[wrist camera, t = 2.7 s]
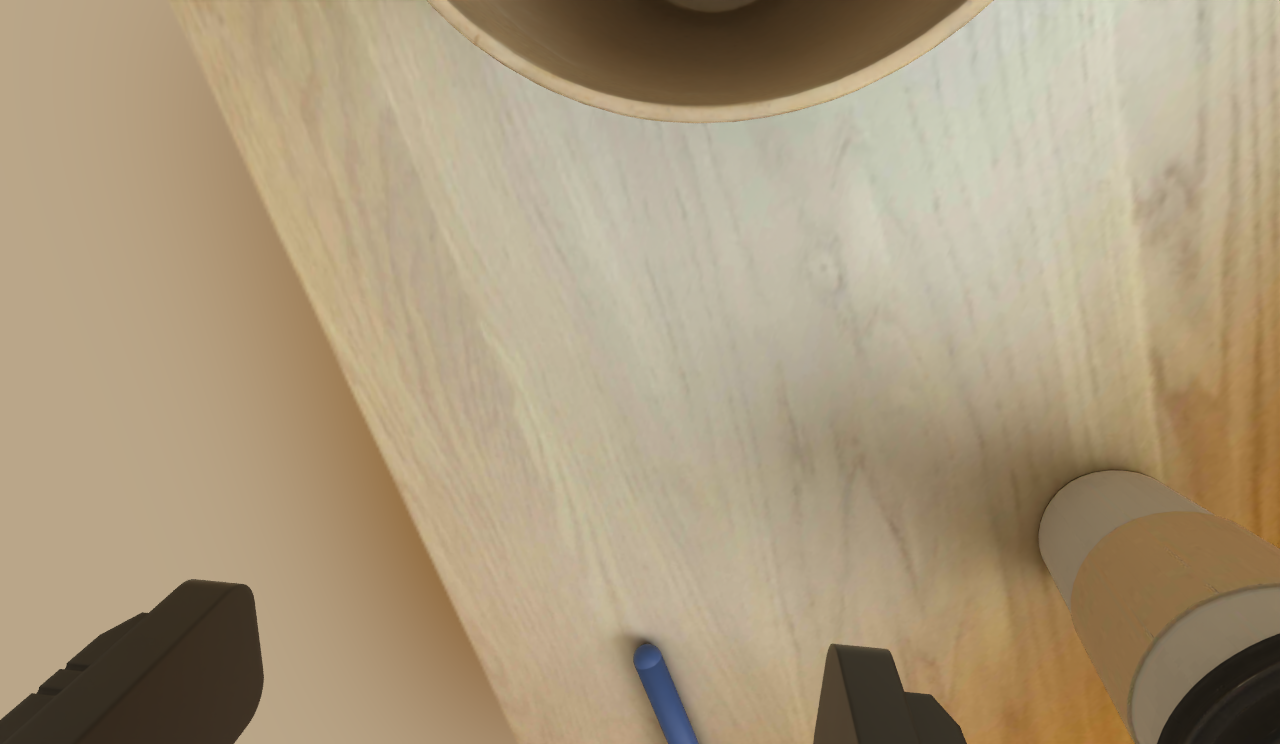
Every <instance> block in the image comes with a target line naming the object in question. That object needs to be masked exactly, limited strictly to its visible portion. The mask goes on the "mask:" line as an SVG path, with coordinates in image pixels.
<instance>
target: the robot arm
mask: <svg viewBox="0 0 1280 744" xmlns="http://www.w3.org/2000/svg"><path fill="white" fill-rule="evenodd" d="M263 680H264V675H263V665H262V657H261V649H260V642H259V633H258V625H257V617H256V610H255V601H254V596H253V593H252V591H251V589H250V588H249V587H248V586H247V585H244V584H237V583H226V582H216V581H206V580H196V579H191V580H188V581H186V582H184V583H183V584H181V585H180V586H179V587H177V588H176V589H175V590H174V591H173V592H172V593H171V594H170V595H168V596H167V597H166V598H165V599H164V600H163V601H162V602H161V603H159V604H158V605H157V606H156V607H155V608H154V609H153V610H152V611H150V612H149V613H141V614H139V615H137V616H135V617H133V618H131V619H129V620H127V621H125V622H124V623H122V624H120V625H118V626H116V627H114V628H112V629H110V630H108V631H107V632H105V633H103V634H101V635H99V636H98V637H97V638H96V639H95V640H93V642H91V643H90V644H89V645H88V646H87V647H85V648H84V649H83V650H82V651H81V652H80V653H78V654H77V655H76V656H75V657H74V658H72V659H71V660H70V661H69V662H68V663H67V666H66V668H65V669H60V670H58V671H57V672H56V673H55V674H54V675H53V676H51V677H50V678H49V679H48V680H47V681H46V682H45V683H43V684H42V685H41V686H40V687H39V690H38V692H37V694H33V693H32V694H31V695H29V696H28V697H27V698H26V699H25V700H23V701H22V702H21V703H20V704H19V705H18V706H16V707H15V708H14V709H13V710H12V711H10V712H9V713H8V714H7V715H6V716H5V717H3V718H2V719H1V720H0V744H234V743H235V741H236V740H237V739H238V737H239V736H240V735H241V733H242V732H243V730H244V729H245V728H246V727H247V725H248V724H249V723H250V721H251V719H252V718H253V716H254V714H255V712H256V709H257V707H258V704H259V701H260V698H261V694H262V689H263ZM813 744H967V743H966V741H965V738H964V736H963V733H962V731H961V728H960V726H959V725H958V724H957V723H956V722H955V721H954V720H953V719H952V717H951V716H950V715H949V714H948V713H947V712H946V711H945V710H944V709H943V707H942V706H941V705H940V704H939V703H938V702H937V701H936V700H935V699H934V697H933V696H932V695H930V694H920V693H910V692H904V690H903V687H902V684H901V681H900V678H899V675H898V672H897V669H896V666H895V663H894V660H893V657H892V655H891V653H890V651H889V650H888V649H880V648H870V647H860V646H849V645H839V644H831V645H830V647H829V649H828V653H827V657H826V663H825V670H824V676H823V683H822V689H821V695H820V702H819V708H818V714H817V721H816V727H815V734H814V743H813Z"/></svg>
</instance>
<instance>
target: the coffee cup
mask: <svg viewBox="0 0 1280 744" xmlns="http://www.w3.org/2000/svg"><path fill="white" fill-rule="evenodd" d="M1038 535H1039V548H1040V552H1041V555H1042V558H1043V560H1044V562H1045V564H1046V566H1047V568H1048V570H1049V572H1050V574H1051V576H1052V578H1053V580H1054V582H1055V584H1056V585H1057V587H1058V589H1059V591H1060V593H1061V595H1062V597H1063V599H1064V601H1065V603H1066V605H1067V607H1068V608H1069V610H1070V612H1071V616H1072V620H1073V624H1074V627H1075V630H1076V632H1077V634H1078V636H1079V638H1080V640H1081V642H1082V644H1083V646H1084V648H1085V650H1086V652H1087V653H1088V655H1089V657H1090V659H1091V661H1092V663H1093V665H1094V667H1095V669H1096V671H1097V673H1098V675H1099V677H1100V678H1101V680H1102V682H1103V684H1104V686H1105V688H1106V690H1107V692H1108V694H1109V696H1110V698H1111V700H1112V701H1113V703H1114V705H1115V707H1116V709H1117V711H1118V713H1119V715H1120V717H1121V719H1122V721H1123V723H1124V724H1125V726H1126V728H1127V730H1128V732H1129V734H1130V736H1131V738H1132V739H1133V741H1134V743H1135V744H1280V549H1279V548H1277V547H1276V546H1274V545H1272V544H1270V543H1269V542H1267V541H1265V540H1264V539H1262V538H1260V537H1259V536H1257V535H1255V534H1254V533H1252V532H1250V531H1249V530H1247V529H1245V528H1244V527H1242V526H1240V525H1238V524H1237V523H1235V522H1233V521H1230V520H1228V519H1225V518H1222V517H1219V516H1216V515H1214V514H1212V513H1211V512H1209V511H1207V510H1206V509H1204V508H1202V507H1201V506H1199V505H1197V504H1196V503H1194V502H1192V501H1191V500H1189V499H1187V498H1186V497H1184V496H1182V495H1181V494H1179V493H1177V492H1176V491H1174V490H1172V489H1171V488H1169V487H1167V486H1166V485H1164V484H1162V483H1161V482H1159V481H1157V480H1155V479H1154V478H1152V477H1149V476H1146V475H1143V474H1140V473H1136V472H1130V471H1120V470H1108V471H1101V472H1094V473H1091V474H1088V475H1084V476H1081V477H1079V478H1077V479H1075V480H1073V481H1071V482H1070V483H1068V484H1067V485H1066V486H1064V487H1063V488H1062V489H1061V490H1059V492H1058V493H1057V494H1056V495H1055V496H1054V497H1053V498H1052V500H1051V501H1050V503H1049V504H1048V506H1047V508H1046V510H1045V511H1044V514H1043V517H1042V520H1041V522H1040V528H1039V534H1038Z"/></svg>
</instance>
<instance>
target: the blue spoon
mask: <svg viewBox="0 0 1280 744" xmlns="http://www.w3.org/2000/svg"><path fill="white" fill-rule="evenodd" d="M633 661H634V665H635V667H636V670H637V672H638V674H639V677H640V679H641V681H642V684H643V686H644V688H645V691H646V693H647V695H648V698H649V700H650V702H651V705H652V707H653V709H654V712H655V714H656V716H657V719H658V721H659V723H660V726H661V728H662V730H663V733H664V735H665V737H666V740H667V742H668V744H699V743H698V741H697V738H696V736H695V733H694V731H693V729H692V726H691V724H690V721H689V719H688V717H687V714H686V712H685V709H684V707H683V705H682V702H681V700H680V697H679V695H678V693H677V690H676V688H675V685H674V683H673V681H672V678H671V676H670V673H669V671H668V669H667V666H666V664H665V661H664V659H663V657H662V654H661V652H660V650H659V649H658V648H657V647H656V646H654V645H652V644H643V645H641V646H640V647H638V648H637V650H636V651H635V653H634V657H633Z"/></svg>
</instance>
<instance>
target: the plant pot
mask: <svg viewBox="0 0 1280 744" xmlns="http://www.w3.org/2000/svg"><path fill="white" fill-rule="evenodd" d="M427 1H428V2H429V3H430V4H431V6H432V7H433V8H434V9H435V10H436V11H437V12H438V13H439V14H440V15H441V16H443V17H444V18H445V19H446V20H447V21H448V22H449V23H450V24H451V25H452V26H453V27H454V28H456V29H457V30H458V31H459V32H460V33H461V34H463V35H464V36H465V37H466V38H467V39H469V40H470V41H471V42H472V43H473V44H475V45H476V46H478V47H479V48H480V49H482V50H483V51H485V52H486V53H488V54H489V55H490V56H492V57H493V58H495V59H496V60H498V61H499V62H500V63H502V64H503V65H505V66H507V67H508V68H510V69H512V70H514V71H515V72H517V73H519V74H521V75H522V76H524V77H526V78H528V79H529V80H531V81H533V82H535V83H536V84H538V85H540V86H543V87H545V88H547V89H549V90H551V91H553V92H556V93H558V94H561V95H563V96H566V97H568V98H570V99H573V100H575V101H578V102H580V103H583V104H586V105H589V106H593V107H596V108H600V109H603V110H606V111H610V112H613V113H616V114H620V115H625V116H630V117H635V118H640V119H647V120H655V121H666V122H684V123H712V122H736V121H743V120H750V119H758V118H765V117H770V116H775V115H780V114H784V113H789V112H794V111H797V110H800V109H804V108H807V107H811V106H814V105H818V104H821V103H824V102H828V101H831V100H834V99H837V98H839V97H842V96H844V95H847V94H849V93H852V92H855V91H857V90H859V89H861V88H863V87H865V86H867V85H869V84H871V83H873V82H875V81H877V80H879V79H881V78H883V77H885V76H887V75H889V74H891V73H893V72H895V71H897V70H899V69H900V68H902V67H904V66H906V65H907V64H909V63H911V62H912V61H914V60H915V59H917V58H919V57H920V56H922V55H923V54H925V53H926V52H928V51H930V50H931V49H933V48H934V47H936V46H937V45H938V44H940V43H941V42H943V41H944V40H945V39H947V38H948V37H949V36H951V35H952V34H954V33H955V32H956V31H958V30H959V29H960V28H962V27H963V26H964V25H966V24H967V23H968V22H969V21H970V20H971V19H973V18H974V17H975V16H976V15H977V14H978V13H980V12H981V11H982V10H983V9H984V8H985V7H986V6H988V5H989V4H990V3H991V2H992V1H993V0H427Z"/></svg>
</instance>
